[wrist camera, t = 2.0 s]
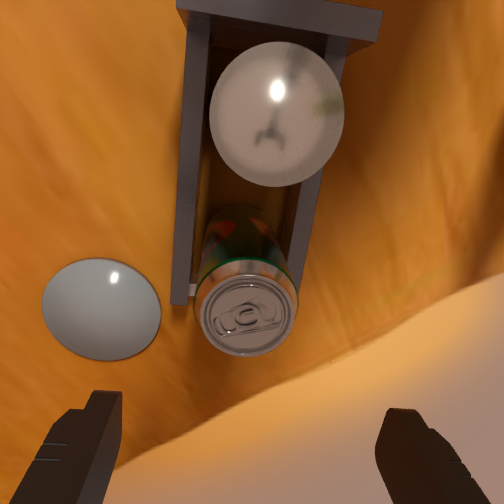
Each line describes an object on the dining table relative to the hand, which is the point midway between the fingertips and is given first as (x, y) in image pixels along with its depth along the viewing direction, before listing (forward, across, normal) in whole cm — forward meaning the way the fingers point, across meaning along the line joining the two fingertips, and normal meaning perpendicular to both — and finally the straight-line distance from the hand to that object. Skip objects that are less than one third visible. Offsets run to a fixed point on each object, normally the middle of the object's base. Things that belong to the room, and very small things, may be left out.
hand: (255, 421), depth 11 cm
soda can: (+18, 0, 0) cm, 18 cm away
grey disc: (+18, +10, +7) cm, 22 cm away
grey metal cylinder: (+18, 0, -9) cm, 20 cm away
